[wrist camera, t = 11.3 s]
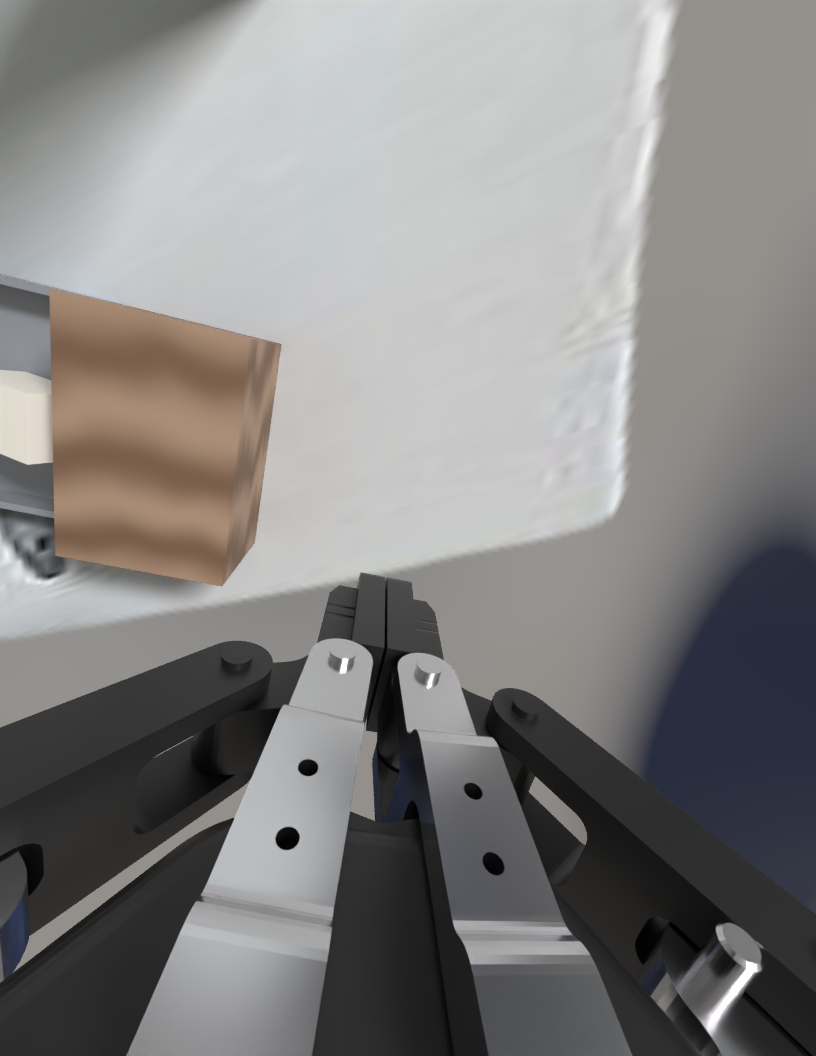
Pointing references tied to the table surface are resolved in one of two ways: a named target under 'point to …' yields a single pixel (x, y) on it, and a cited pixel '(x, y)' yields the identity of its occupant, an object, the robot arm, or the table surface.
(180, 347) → the walnut platform
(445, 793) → the robot arm
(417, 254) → the table surface
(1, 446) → the cream block
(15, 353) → the box
